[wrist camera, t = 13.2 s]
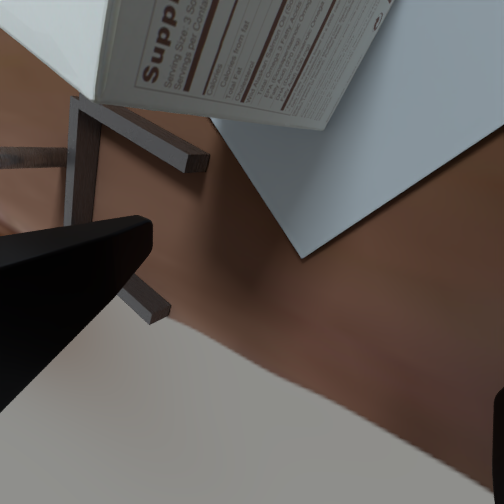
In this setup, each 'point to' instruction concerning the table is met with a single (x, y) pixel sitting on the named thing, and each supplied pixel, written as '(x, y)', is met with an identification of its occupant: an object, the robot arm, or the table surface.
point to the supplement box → (204, 53)
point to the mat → (383, 120)
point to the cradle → (85, 166)
